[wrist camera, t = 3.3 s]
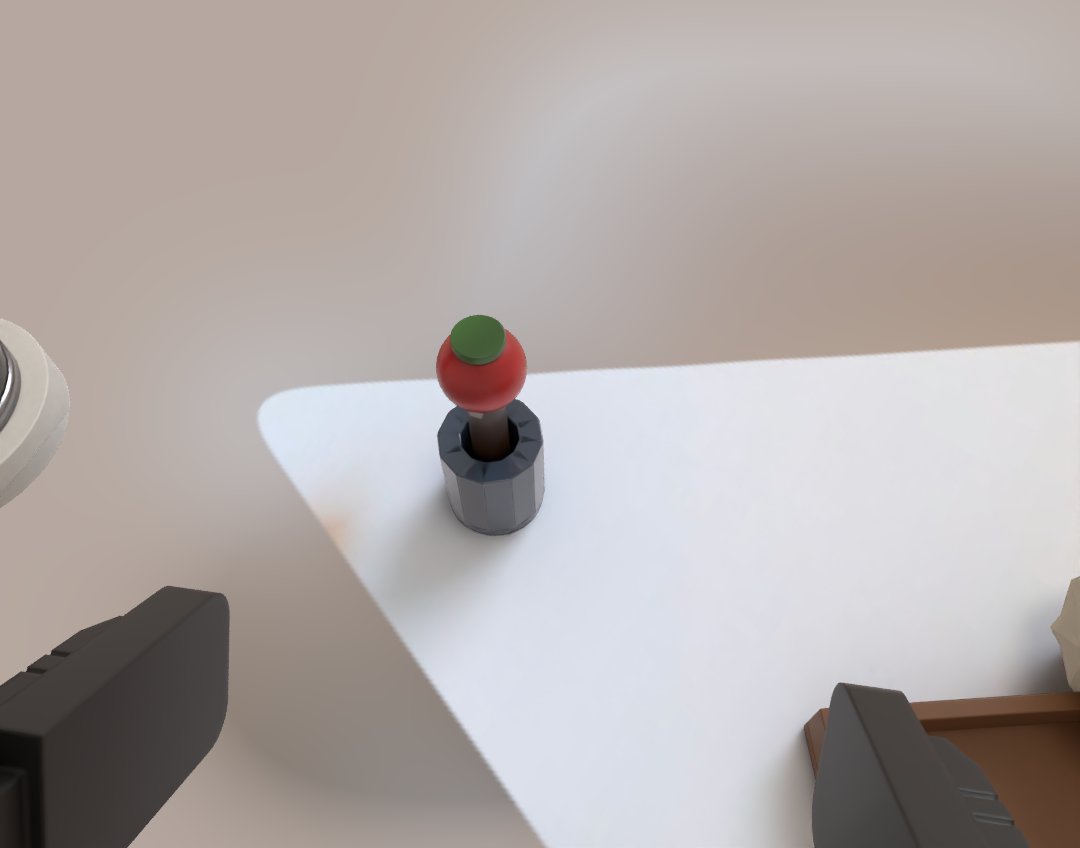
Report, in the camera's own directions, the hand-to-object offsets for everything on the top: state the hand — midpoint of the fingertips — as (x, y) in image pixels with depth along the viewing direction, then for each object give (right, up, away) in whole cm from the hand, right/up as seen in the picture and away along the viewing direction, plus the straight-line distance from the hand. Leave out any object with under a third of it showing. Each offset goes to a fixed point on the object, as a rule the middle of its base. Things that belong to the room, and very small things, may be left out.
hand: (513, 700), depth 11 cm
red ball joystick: (-2, +1, +29) cm, 29 cm away
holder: (-2, 0, +30) cm, 30 cm away
